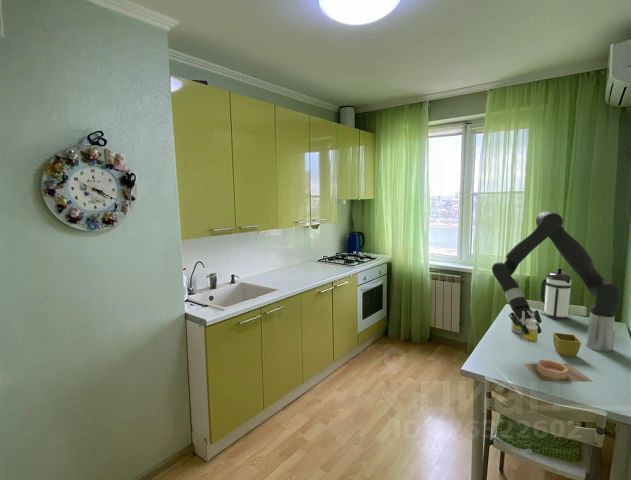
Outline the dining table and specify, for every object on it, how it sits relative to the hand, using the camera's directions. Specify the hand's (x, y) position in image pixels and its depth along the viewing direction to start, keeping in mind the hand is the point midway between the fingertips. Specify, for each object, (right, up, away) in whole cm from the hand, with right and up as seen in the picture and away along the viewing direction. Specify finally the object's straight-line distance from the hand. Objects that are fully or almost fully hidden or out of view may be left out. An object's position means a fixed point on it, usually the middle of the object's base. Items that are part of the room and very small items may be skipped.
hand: (533, 333), depth 156 cm
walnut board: (+3, -15, -10) cm, 18 cm away
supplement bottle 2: (0, -4, +2) cm, 5 cm away
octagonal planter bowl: (+1, -14, -11) cm, 17 cm away
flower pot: (+19, -12, +7) cm, 24 cm away
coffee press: (+47, -4, +56) cm, 73 cm away
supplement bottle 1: (+13, -8, +35) cm, 38 cm away
